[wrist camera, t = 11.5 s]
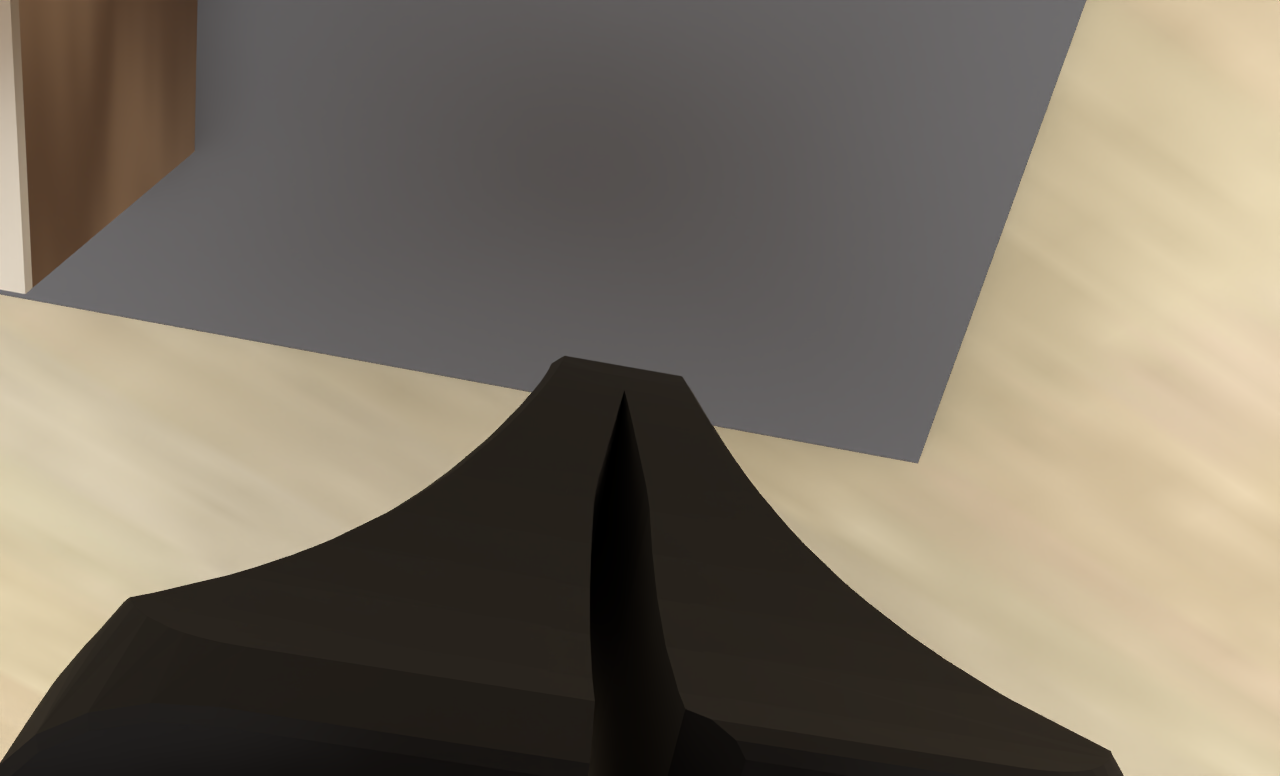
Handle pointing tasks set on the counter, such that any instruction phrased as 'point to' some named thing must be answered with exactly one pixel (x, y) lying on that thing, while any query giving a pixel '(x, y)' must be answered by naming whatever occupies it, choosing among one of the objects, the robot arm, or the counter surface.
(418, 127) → the mat
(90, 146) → the letter cube
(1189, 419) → the counter surface
